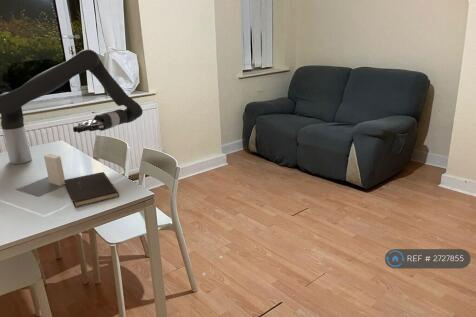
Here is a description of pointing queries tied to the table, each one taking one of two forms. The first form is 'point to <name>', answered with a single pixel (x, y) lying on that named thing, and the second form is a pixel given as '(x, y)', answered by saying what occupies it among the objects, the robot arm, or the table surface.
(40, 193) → the charcoal mat
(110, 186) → the hardcover book
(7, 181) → the table surface
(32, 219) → the table surface
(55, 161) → the cream box
